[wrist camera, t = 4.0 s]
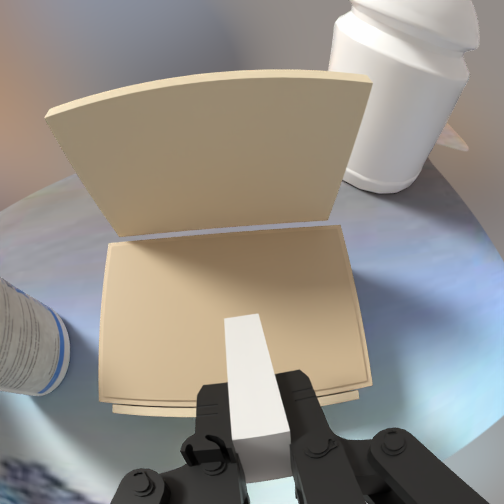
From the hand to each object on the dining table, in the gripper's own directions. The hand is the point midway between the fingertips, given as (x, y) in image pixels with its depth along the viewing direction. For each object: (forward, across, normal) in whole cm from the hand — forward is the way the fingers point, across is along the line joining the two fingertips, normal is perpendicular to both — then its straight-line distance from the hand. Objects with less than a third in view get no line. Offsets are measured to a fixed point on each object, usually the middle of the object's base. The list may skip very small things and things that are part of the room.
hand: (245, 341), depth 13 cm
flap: (+11, 0, +3) cm, 11 cm away
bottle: (+24, +18, +7) cm, 31 cm away
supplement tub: (+10, -21, -6) cm, 24 cm away
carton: (+10, -1, -6) cm, 12 cm away
